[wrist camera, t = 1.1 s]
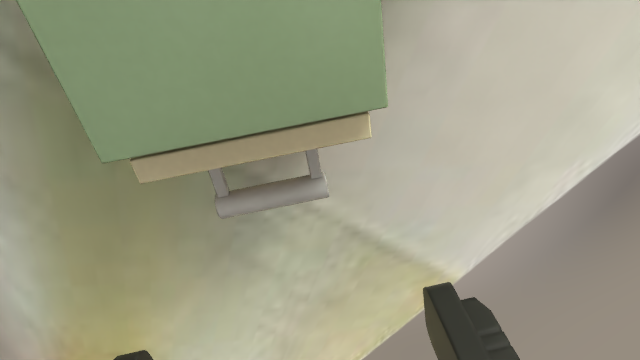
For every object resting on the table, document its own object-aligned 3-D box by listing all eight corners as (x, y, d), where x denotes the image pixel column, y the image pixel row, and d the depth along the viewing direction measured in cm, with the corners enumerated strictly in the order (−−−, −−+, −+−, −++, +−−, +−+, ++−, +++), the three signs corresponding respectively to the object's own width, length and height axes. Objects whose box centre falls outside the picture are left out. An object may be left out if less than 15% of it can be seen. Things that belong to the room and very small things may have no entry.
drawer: (352, 151, 26) (379, 214, 20) (193, 183, 26) (174, 256, 20) (308, -198, 17) (334, -265, 11) (60, -154, 16) (-46, -199, 11)
